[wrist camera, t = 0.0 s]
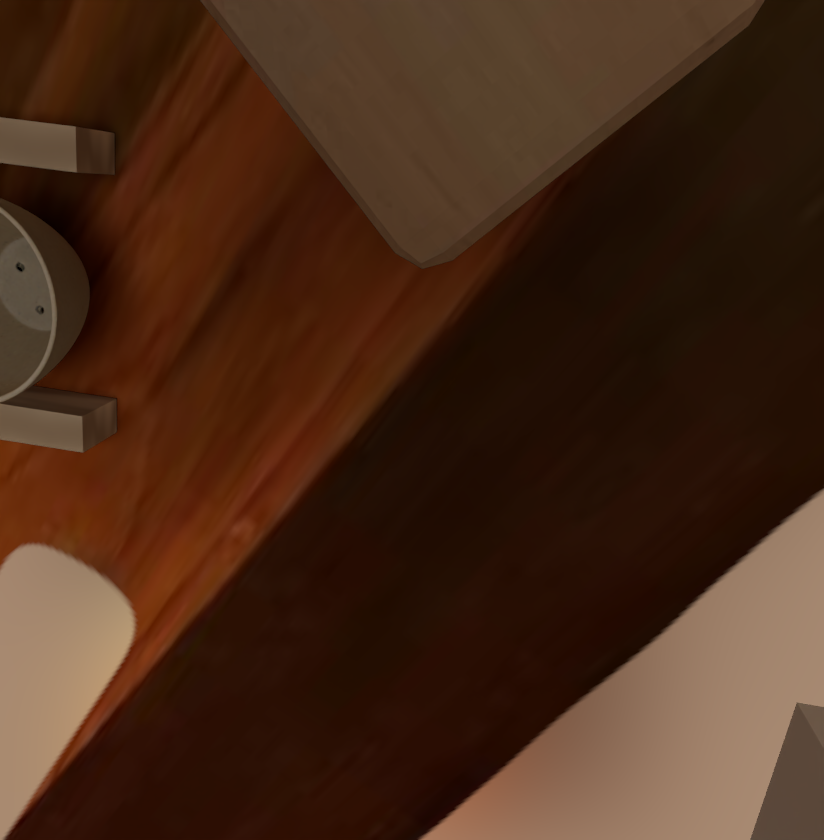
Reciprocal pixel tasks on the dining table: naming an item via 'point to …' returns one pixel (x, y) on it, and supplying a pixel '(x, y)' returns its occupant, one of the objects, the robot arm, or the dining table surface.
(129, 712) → the dining table surface
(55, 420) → the twin plank rack
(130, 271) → the dining table surface
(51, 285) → the flower pot
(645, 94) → the wooden block
